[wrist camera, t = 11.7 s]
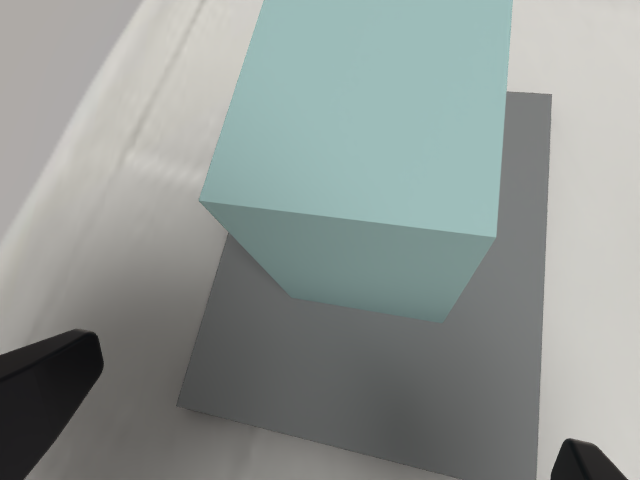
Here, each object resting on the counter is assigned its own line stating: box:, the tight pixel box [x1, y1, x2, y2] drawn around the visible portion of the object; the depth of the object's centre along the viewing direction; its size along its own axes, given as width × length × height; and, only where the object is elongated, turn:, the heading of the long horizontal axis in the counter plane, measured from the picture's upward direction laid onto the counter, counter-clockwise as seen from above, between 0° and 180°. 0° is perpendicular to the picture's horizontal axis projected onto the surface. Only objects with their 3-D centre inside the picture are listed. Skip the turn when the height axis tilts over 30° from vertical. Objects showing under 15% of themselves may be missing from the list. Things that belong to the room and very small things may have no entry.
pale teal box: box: [199, 0, 513, 323], centre depth 13 cm, size 6×6×9 cm
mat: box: [176, 92, 552, 480], centre depth 18 cm, size 16×13×1 cm
